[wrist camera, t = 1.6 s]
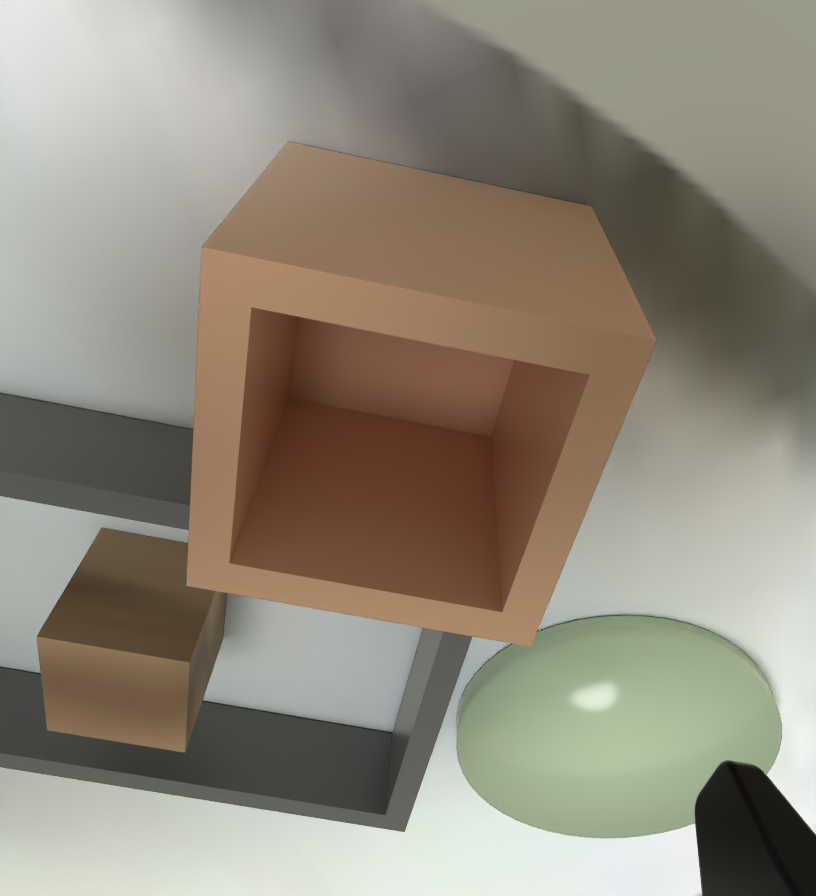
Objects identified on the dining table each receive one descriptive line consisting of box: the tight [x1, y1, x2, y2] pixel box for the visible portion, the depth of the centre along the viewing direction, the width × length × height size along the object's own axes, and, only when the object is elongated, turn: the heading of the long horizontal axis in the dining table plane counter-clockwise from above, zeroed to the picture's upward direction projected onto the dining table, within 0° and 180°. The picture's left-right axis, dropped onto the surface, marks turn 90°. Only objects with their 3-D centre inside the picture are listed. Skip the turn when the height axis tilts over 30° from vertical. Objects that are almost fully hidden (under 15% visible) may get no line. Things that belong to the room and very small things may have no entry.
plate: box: [457, 615, 782, 838], centre depth 27 cm, size 11×11×1 cm
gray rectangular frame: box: [0, 393, 472, 832], centre depth 24 cm, size 13×19×3 cm
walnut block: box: [37, 528, 227, 753], centre depth 23 cm, size 4×4×4 cm
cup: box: [186, 142, 657, 647], centre depth 17 cm, size 7×7×7 cm
